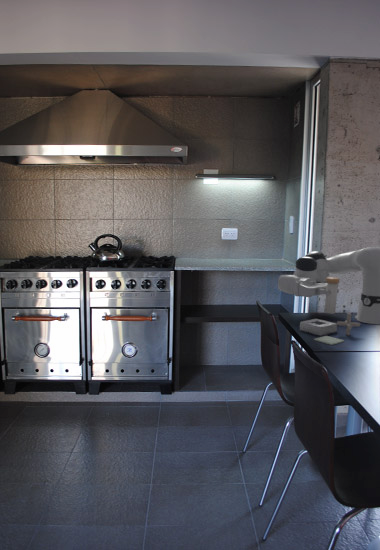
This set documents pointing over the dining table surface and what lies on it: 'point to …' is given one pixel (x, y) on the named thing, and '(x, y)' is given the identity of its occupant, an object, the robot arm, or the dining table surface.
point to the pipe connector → (348, 324)
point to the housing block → (318, 327)
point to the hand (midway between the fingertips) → (333, 291)
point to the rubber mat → (329, 340)
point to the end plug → (331, 295)
